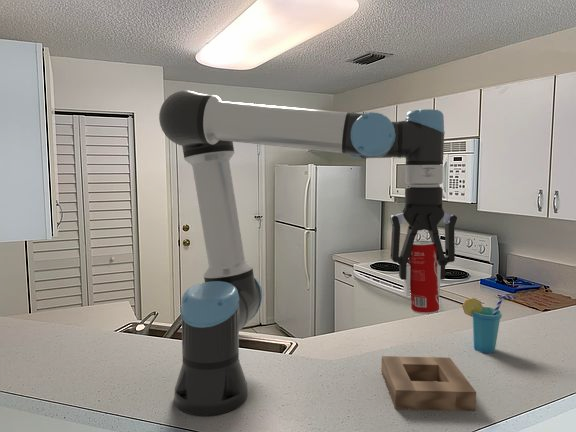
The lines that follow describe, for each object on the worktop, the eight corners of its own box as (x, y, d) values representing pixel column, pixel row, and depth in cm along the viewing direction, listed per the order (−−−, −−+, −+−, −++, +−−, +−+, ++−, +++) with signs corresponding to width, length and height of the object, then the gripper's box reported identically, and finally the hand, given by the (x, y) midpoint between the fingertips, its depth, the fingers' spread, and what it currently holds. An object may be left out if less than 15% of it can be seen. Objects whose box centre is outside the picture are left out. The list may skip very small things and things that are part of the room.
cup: (503, 342, 123) (506, 290, 121) (520, 354, 115) (524, 298, 114) (455, 344, 121) (458, 291, 120) (469, 356, 114) (472, 299, 112)
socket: (395, 408, 89) (395, 390, 88) (381, 372, 105) (381, 356, 104) (475, 411, 88) (476, 392, 88) (449, 373, 104) (449, 357, 104)
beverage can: (440, 316, 91) (442, 244, 89) (408, 314, 92) (409, 244, 91) (437, 307, 97) (438, 240, 95) (406, 305, 98) (407, 239, 97)
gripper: (382, 187, 88) (380, 299, 91) (475, 186, 88) (471, 299, 90) (376, 185, 96) (375, 289, 98) (462, 184, 95) (459, 289, 98)
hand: (421, 293), depth 94 cm, fingers closed on beverage can, 6 cm apart
